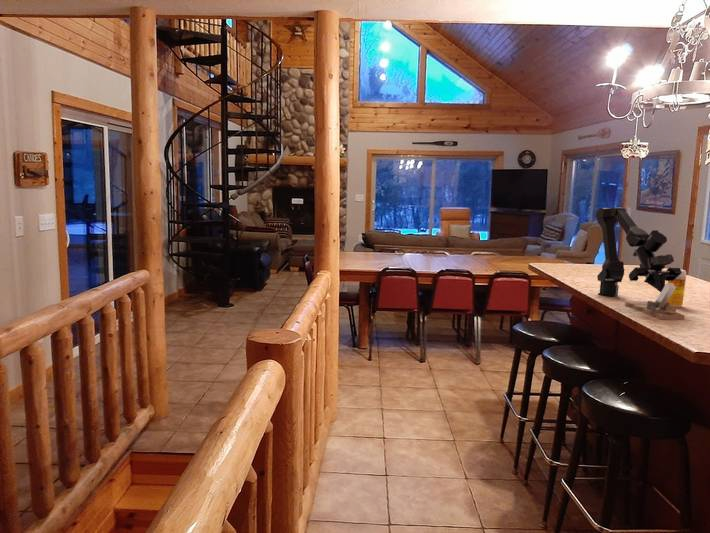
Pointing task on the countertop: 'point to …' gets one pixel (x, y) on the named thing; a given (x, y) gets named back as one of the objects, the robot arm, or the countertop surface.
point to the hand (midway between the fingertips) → (663, 292)
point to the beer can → (678, 290)
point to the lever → (665, 295)
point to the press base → (655, 309)
